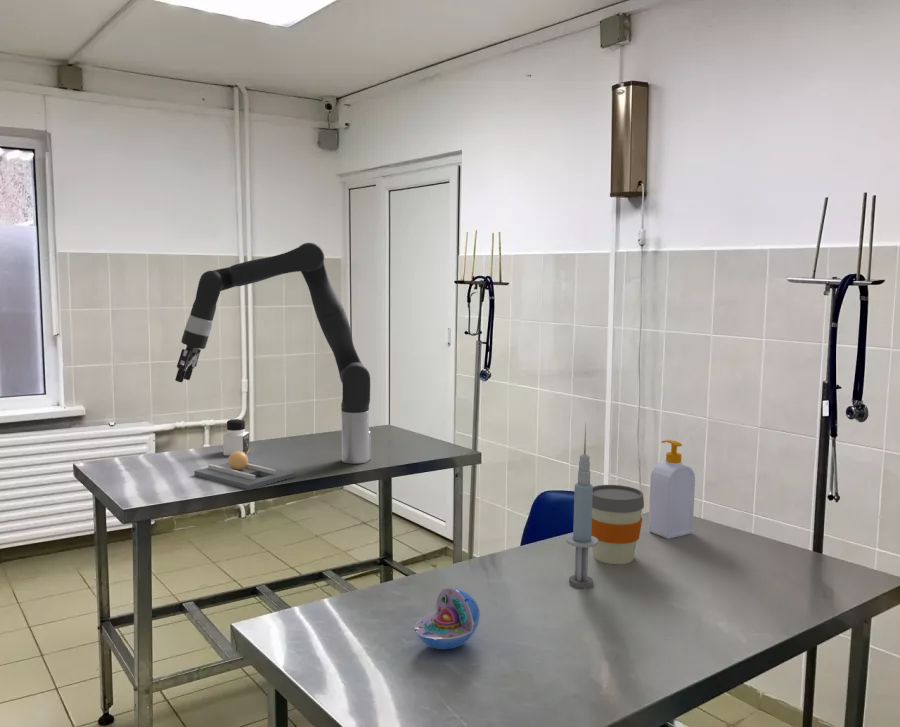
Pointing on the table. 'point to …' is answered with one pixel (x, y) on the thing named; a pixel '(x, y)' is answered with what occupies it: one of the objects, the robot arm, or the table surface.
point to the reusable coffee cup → (616, 522)
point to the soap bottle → (671, 496)
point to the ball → (238, 460)
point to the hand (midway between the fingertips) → (182, 380)
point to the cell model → (449, 620)
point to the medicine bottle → (235, 437)
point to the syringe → (582, 523)
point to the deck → (244, 475)
